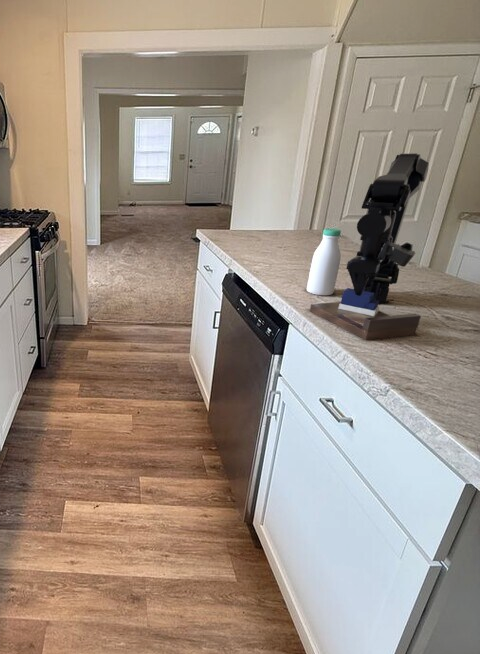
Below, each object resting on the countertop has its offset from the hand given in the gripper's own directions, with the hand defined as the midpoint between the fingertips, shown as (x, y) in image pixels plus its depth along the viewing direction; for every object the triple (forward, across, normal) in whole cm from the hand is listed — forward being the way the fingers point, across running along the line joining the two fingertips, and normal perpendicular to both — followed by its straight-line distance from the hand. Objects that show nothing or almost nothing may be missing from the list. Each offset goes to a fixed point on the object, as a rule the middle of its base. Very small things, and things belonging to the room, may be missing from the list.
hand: (362, 291), depth 106 cm
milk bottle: (+8, +16, +14) cm, 23 cm away
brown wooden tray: (+7, -4, -1) cm, 8 cm away
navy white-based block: (+5, 0, 0) cm, 5 cm away
